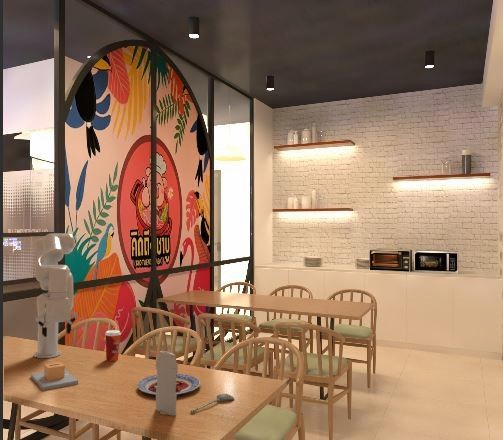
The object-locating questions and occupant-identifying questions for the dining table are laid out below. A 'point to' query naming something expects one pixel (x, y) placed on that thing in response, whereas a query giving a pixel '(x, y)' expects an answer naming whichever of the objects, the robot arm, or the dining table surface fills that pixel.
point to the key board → (54, 381)
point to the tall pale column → (166, 383)
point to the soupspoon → (219, 397)
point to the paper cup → (112, 345)
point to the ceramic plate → (182, 384)
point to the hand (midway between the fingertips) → (56, 334)
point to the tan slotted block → (54, 371)
